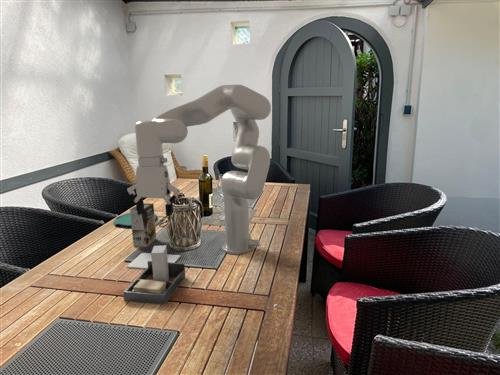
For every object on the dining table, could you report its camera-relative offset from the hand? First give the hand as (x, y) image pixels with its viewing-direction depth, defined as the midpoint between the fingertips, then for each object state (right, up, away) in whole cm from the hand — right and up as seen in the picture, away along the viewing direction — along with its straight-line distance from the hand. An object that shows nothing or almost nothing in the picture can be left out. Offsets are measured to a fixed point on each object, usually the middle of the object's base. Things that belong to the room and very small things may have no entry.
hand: (155, 214), depth 117 cm
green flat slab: (-21, -9, +65) cm, 69 cm away
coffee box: (-14, -15, +39) cm, 44 cm away
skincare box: (+1, -23, +5) cm, 24 cm away
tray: (0, -24, +1) cm, 24 cm away
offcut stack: (-1, -25, -3) cm, 26 cm away
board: (-5, -19, +20) cm, 28 cm away
